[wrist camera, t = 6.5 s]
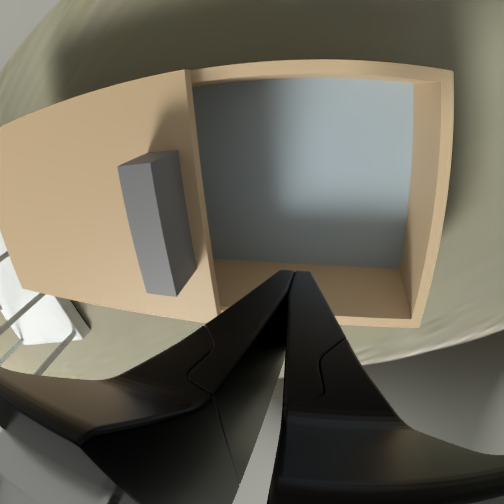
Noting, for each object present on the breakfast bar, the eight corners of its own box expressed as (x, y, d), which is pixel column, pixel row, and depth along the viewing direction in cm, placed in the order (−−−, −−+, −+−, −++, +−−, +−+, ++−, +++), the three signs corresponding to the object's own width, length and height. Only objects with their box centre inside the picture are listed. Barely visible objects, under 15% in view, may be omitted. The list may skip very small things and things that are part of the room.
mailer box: (419, 75, 15) (453, 70, 10) (404, 270, 21) (419, 327, 16) (136, 89, 19) (78, 97, 14) (164, 256, 25) (124, 300, 20)
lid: (190, 69, 12) (155, 68, 10) (222, 317, 18) (203, 354, 16) (-17, 135, 17) (-47, 147, 14) (26, 284, 23) (4, 304, 20)
